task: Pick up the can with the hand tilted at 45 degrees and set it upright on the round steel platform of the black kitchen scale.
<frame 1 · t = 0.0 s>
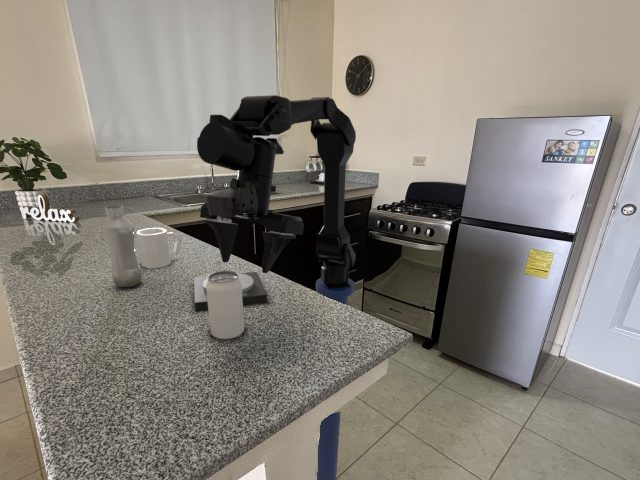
hand: (244, 267, 61), 15 cm above the counter, tool pointing down, fingers open, 9 cm apart
plastic bottle: (129, 285, 89), on the counter
scale: (229, 293, 86), on the counter
can: (227, 332, 70), on the counter
mug: (163, 262, 105), on the counter
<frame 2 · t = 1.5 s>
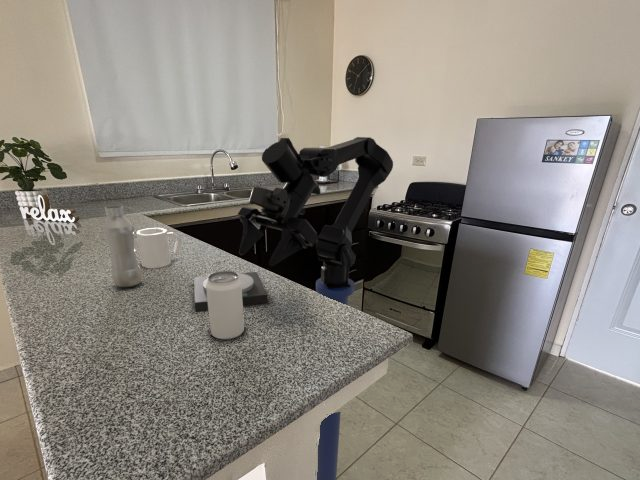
hand: (254, 259, 70), 13 cm above the counter, tool tilted 45°, fingers open, 9 cm apart
nothing on the counter moved.
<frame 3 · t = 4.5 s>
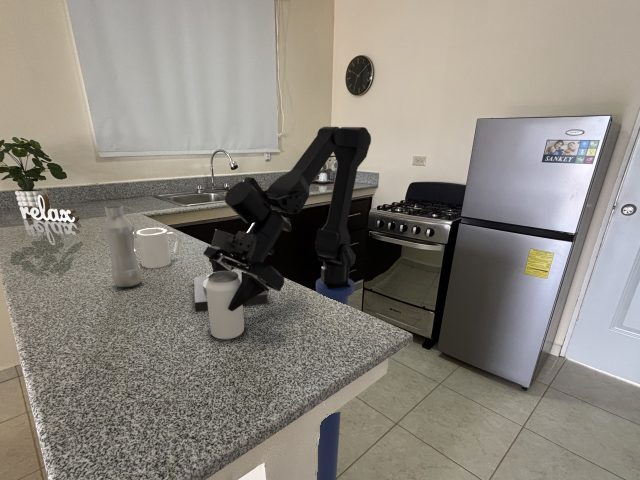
hand: (219, 304, 66), 7 cm above the counter, tool tilted 45°, fingers closed on can, 6 cm apart
can: (227, 332, 69), on the counter, touching gripper
everything else where it was.
when the fingers open (10 cm above the counter, at t = 11.2 s): can stays where it is, resting on scale.
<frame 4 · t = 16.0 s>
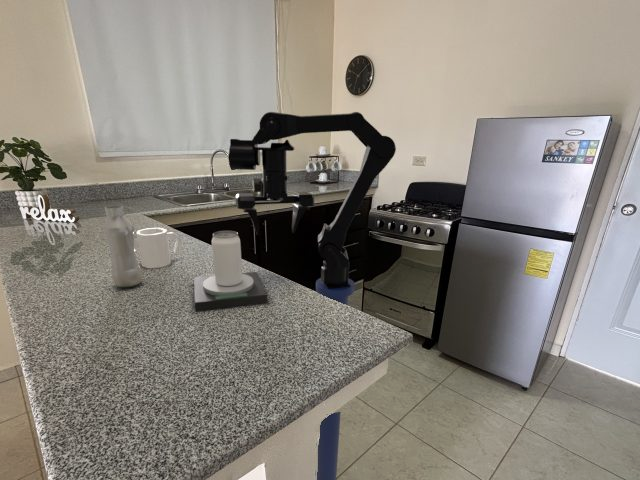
hand: (275, 234, 89), 13 cm above the counter, tool pointing down, fingers open, 9 cm apart
can: (229, 282, 85), point 3 cm above the counter, touching scale
everything else where it was.
at the end: can inside the target area on the scale (0.2 cm from its centre), point 3.0 cm above the scale's base; can tilted 0°; the gripper is holding nothing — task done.
